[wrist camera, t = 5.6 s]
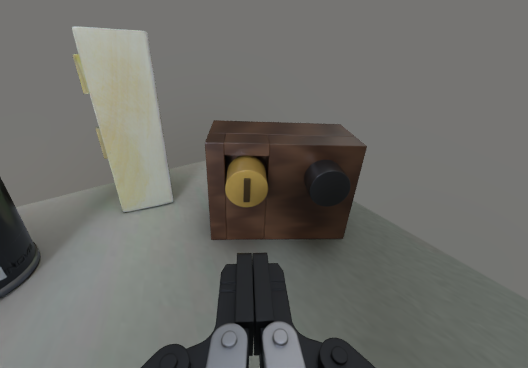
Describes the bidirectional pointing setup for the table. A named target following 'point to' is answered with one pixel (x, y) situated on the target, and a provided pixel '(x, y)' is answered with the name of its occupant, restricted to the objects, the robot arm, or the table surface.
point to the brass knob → (246, 181)
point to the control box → (285, 179)
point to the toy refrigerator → (126, 112)
